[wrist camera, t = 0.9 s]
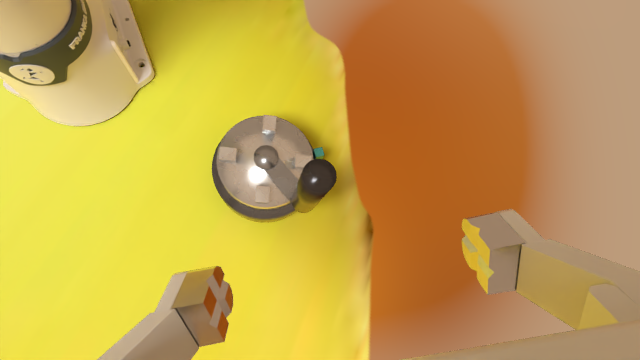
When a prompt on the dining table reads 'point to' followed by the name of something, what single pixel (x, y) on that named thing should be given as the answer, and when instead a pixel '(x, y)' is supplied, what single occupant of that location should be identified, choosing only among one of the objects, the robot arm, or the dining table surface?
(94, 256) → the dining table surface
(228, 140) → the disc with upright handle
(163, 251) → the dining table surface
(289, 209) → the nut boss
